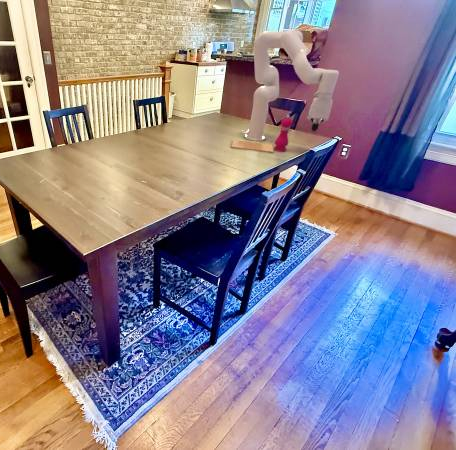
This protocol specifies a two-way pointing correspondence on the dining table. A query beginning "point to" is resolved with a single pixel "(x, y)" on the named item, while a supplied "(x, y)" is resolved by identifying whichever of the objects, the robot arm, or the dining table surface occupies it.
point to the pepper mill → (283, 135)
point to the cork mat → (252, 146)
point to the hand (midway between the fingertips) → (313, 130)
